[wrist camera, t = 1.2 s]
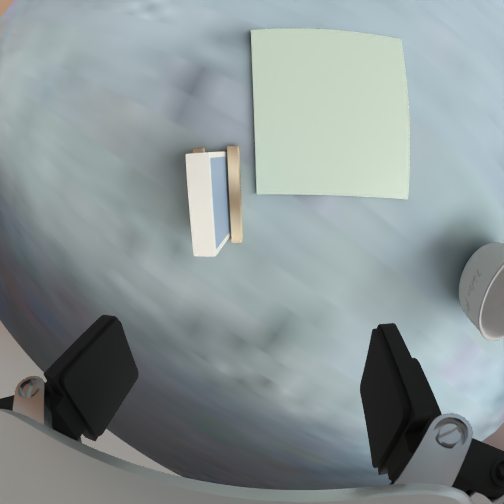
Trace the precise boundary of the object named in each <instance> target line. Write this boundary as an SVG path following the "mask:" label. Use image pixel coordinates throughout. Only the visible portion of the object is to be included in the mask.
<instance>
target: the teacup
mask: <svg viewBox="0 0 504 504" xmlns="http://www.w3.org/2000/svg"><path fill="white" fill-rule="evenodd" d="M459 300H460V304H461V307H462V309H463V311H464V313H465V314H466V316H467V317H468V318H469V319H470V321H471V322H472V323H473V324H474V325H475V326H476V327H477V329H478V330H479V331H480V333H481V334H482V336H483V337H484V338H485V339H487V340H491V341H496V340H500V339H502V338H504V244H503V243H499V242H493V243H488V244H486V245H484V246H482V247H480V248H479V249H478V250H477V251H476V252H475V253H474V254H473V255H472V256H471V257H470V259H469V260H468V262H467V264H466V265H465V267H464V270H463V272H462V275H461V278H460V283H459Z"/></svg>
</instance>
